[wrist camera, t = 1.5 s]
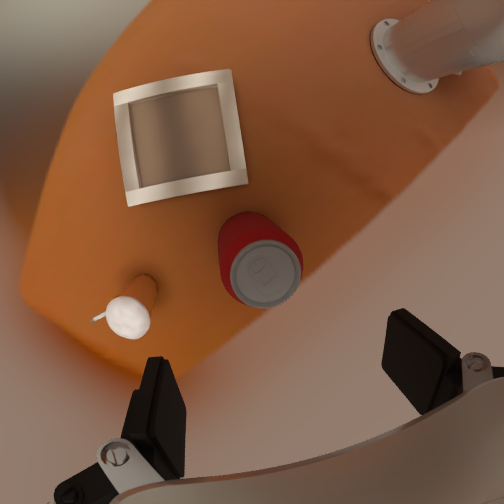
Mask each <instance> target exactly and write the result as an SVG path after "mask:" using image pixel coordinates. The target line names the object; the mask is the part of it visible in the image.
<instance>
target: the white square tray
mask: <svg viewBox="0 0 504 504" xmlns="http://www.w3.org/2000/svg"><path fill="white" fill-rule="evenodd" d="M113 98H114V111H115V122H116V131H117V140H118V148H119V155H120V162H121V169H122V175H123V182H124V187H125V193H126V198H127V204H128V207H130V206H134V205H139V204H143V203H147V202H152V201H157V200H161V199H166V198H171V197H176V196H181V195H186V194H191V193H197V192H202V191H208V190H213V189H219V188H225V187H231V186H237V185H243V184H249V183H248V177H247V170H246V163H245V157H244V150H243V144H242V137H241V131H240V124H239V118H238V111H237V105H236V98H235V92H234V86H233V79H232V73H231V69H225V70H217V71H210V72H203V73H197V74H191V75H185V76H180V77H175V78H170V79H166V80H161V81H157V82H153V83H149V84H145V85H141V86H137V87H133V88H130V89H126V90H123V91H120V92H116V93H113Z"/></svg>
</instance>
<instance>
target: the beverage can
mask: <svg viewBox="0 0 504 504" xmlns="http://www.w3.org/2000/svg"><path fill="white" fill-rule="evenodd" d="M218 252H219V265H220V273H221V279H222V282H223V284H224V287H225V288H226V290H227V291H228V293H229V294H230V295H231V296H232V297H233V298H234V299H236V300H237V301H239V302H241V303H243V304H245V305H248V306H252V307H255V308H272V307H275V306H278V305H280V304H282V303H284V302H285V301H287V300H288V299H289V298H290V297H291V296H292V295H293V294H294V292H295V291H296V289H297V287H298V285H299V282H300V279H301V276H302V272H303V258H302V254H301V251H300V249H299V247H298V245H297V244H296V242H295V241H294V240H293V239H292V238H291V237H290V236H289V235H288V234H286V233H285V232H284V231H283V230H282V229H280V228H279V227H278V226H277V225H275V224H274V223H273V222H271V221H270V220H269V219H267V218H266V217H264V216H263V215H260V214H258V213H254V212H244V213H240V214H237V215H235V216H233V217H231V218H230V219H229V220H228V221H227V222H226V223H225V224H224V225H223V227H222V229H221V231H220V233H219V238H218Z"/></svg>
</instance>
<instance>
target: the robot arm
mask: <svg viewBox="0 0 504 504" xmlns="http://www.w3.org/2000/svg"><path fill="white" fill-rule="evenodd" d="M370 40H371V47H372V51H373V53H374V56H375V58H376V60H377V62H378V63H379V65H380V67H381V68H382V69H383V71H384V72H385V73H386V75H387V76H388V77H389V78H390V79H391V80H392V81H393V82H394V83H396V84H397V85H398V86H400V87H401V88H403V89H404V90H406V91H408V92H411V93H415V94H424V93H428V92H430V91H432V90H433V89H434V88H435V87H436V86H437V84H438V81H439V78H441V77H444V76H447V75H451V74H455V75H458V76H459V75H461V74H462V71H465V70H469V69H473V68H477V67H481V66H486V65H490V64H494V63H499V62H504V0H433V1H431V2H430V3H428V4H426V5H424V6H423V7H421V8H419V9H418V10H416V11H415V12H413V13H411V14H410V15H408V16H407V17H405V18H403V19H402V20H397V19H384V20H381V21H380V22H378V23H377V24H376V25H375V26H374V27H373V29H372V31H371V36H370ZM460 354H461V352H460V351H458V350H457V349H456V348H455V347H453V346H452V345H451V344H450V343H448V342H447V341H446V340H445V339H443V338H442V337H441V336H440V335H438V334H437V333H436V332H435V331H433V330H432V329H431V328H429V327H428V326H427V325H426V324H424V323H423V322H421V321H420V320H419V319H418V318H416V317H415V316H414V315H412V314H411V313H410V312H408V311H407V310H406V309H404V308H402V309H399V310H395V311H392V312H391V314H390V316H389V317H388V321H387V330H386V337H385V344H384V351H383V357H382V368H383V370H384V371H385V372H386V374H388V376H389V377H390V378H391V380H392V381H393V382H394V383H395V384H396V386H398V388H399V389H400V390H401V392H402V393H403V394H404V395H405V396H406V398H407V399H408V400H409V401H410V403H411V404H412V405H413V406H414V407H415V409H416V410H417V411H418V412H419V414H421V415H422V416H420V417H418V418H416V419H414V420H412V421H410V422H408V423H406V424H404V425H402V426H399V427H397V428H395V429H393V430H390V431H388V432H386V433H384V434H381V435H379V436H376V437H374V438H371V439H369V440H366V441H364V442H361V443H358V444H355V445H353V446H350V447H347V448H344V449H341V450H338V451H335V452H331V453H328V454H325V455H322V456H318V457H314V458H311V459H307V460H303V461H299V462H295V463H291V464H287V465H282V466H277V467H272V468H267V469H261V470H255V471H249V472H242V473H235V474H228V475H219V476H209V477H198V478H187V479H180V477H184V467H185V465H184V464H185V433H186V407H185V404H184V401H183V399H182V396H181V393H180V391H179V388H178V385H177V383H176V380H175V377H174V374H173V372H172V369H171V366H170V363H169V361H168V360H164V358H163V357H162V356H160V357H149V358H148V360H147V363H146V367H145V370H144V374H143V377H142V381H141V385H140V388H139V390H134V391H133V393H132V397H131V401H130V404H129V407H128V411H127V415H126V418H125V422H124V426H123V430H122V434H121V438H115V439H110V440H108V441H106V442H104V443H103V444H102V445H101V446H100V447H99V448H98V451H97V460H98V462H97V463H95V464H94V465H92V466H90V467H88V468H87V469H85V470H83V471H81V472H80V473H78V474H76V475H74V476H72V477H71V478H69V479H67V480H65V481H63V482H62V483H60V484H59V485H58V486H57V488H56V489H55V492H54V500H55V501H54V502H53V503H52V504H504V367H493V366H491V362H490V360H489V359H488V358H487V357H486V356H485V355H483V354H481V353H476V352H473V353H468V354H466V355H465V356H464V357H463V358H462V359H461V358H460ZM47 504H51V503H49V502H48V503H47Z"/></svg>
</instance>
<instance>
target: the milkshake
mask: <svg viewBox="0 0 504 504" xmlns="http://www.w3.org/2000/svg"><path fill="white" fill-rule="evenodd" d="M156 294H157V285H156V282H155V281H154V280H153V279H152V278H151V277H150V276H147V275H140V276H137V277H135V278H134V279H133V280H132V281H131V282H130V283H129V284H128V285H127V286H126V287H125V288H124V289H123V290H122V291H121V292H120V293H119V294H118V295H117V296H116V297H115V298H114V299H113V300H112V301H110V303H109V304H108V306H107V309H106V312H104V313H102V314H100V315H98V316H96V317H94V318H92V323H93V322H95V321H97V320H99V319H100V318H102V317H104V316H106V319H107V322H108V325H109V326H110V328H111V329H112V330H113V331H114V332H115V333H116V334H118V335H119V336H122V337H125V338H128V339H138V338H140V337H142V336H143V335H144V334H145V333H146V332H147V331H148V329H149V326H150V321H151V315H152V310H153V306H154V302H155V298H156Z"/></svg>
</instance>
